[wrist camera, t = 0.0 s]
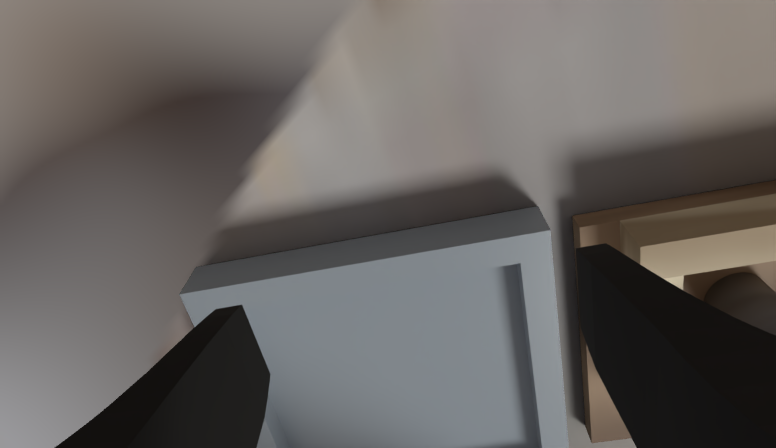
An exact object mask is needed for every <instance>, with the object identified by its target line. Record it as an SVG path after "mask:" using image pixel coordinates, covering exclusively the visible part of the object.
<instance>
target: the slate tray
mask: <svg viewBox="0 0 776 448" xmlns="http://www.w3.org/2000/svg"><path fill="white" fill-rule="evenodd" d="M179 295H180V297H181V299H182V301H183V304H184V306H185V308H186V310H187V312H188V314H189V316H190V319H191V321H192V323H193V325H194V327H196V326H197V325H198V324H199V323H200V322H201V321H202V320H203V319H204V318H206V317H207V316H208V315H209V314H210V313H212V312H213V311H214V310H215V309H219V308H225V307H231V306H237V305H242V306H243V308H244V311H245V313H246V315H247V318H248V320H249V323H250V325H251V328H252V330H253V333H254V335H255V338H256V340H257V342H258V345H259V347H260V350H261V352H262V355H263V357H264V360H265V362H266V364H267V367H268V369H269V372H270V374H271V375H270V383H269V392H268V399H267V406H266V412H265V418H264V422H263V426H262V429H261V433H260V437H259V440H258V444H257V447H256V448H569V444H568V432H567V420H566V408H565V396H564V385H563V373H562V361H561V349H560V337H559V325H558V314H557V302H556V290H555V278H554V266H553V254H552V243H551V231H550V228H549V226H548V224H547V223H546V221H545V219H544V217H543V215H542V213H541V211H540V209H539V207H538V206H536V207H530V208H525V209H519V210H514V211H508V212H502V213H497V214H491V215H486V216H480V217H474V218H469V219H463V220H458V221H452V222H446V223H441V224H435V225H430V226H424V227H418V228H413V229H407V230H402V231H396V232H390V233H385V234H379V235H374V236H368V237H362V238H357V239H351V240H346V241H340V242H334V243H329V244H323V245H318V246H312V247H306V248H301V249H295V250H290V251H284V252H278V253H273V254H267V255H262V256H256V257H250V258H245V259H239V260H233V261H228V262H222V263H217V264H211V265H205V266H200V267H196V268H195V269H194V271H193V273H192V274H191V276H190V278H189V279H188V281H187V283H186V284H185V286H184V287H183V289H182V291H181V293H180V294H179Z"/></svg>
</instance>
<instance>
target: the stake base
mask: <svg viewBox="0 0 776 448" xmlns="http://www.w3.org/2000/svg"><path fill="white" fill-rule="evenodd" d="M771 194H776V180H773V181H768V182H762V183H756V184H751V185H745V186H739V187H734V188H728V189H722V190H716V191H711V192H705V193H699V194H694V195H688V196H682V197H677V198H671V199H665V200H659V201H654V202H648V203H642V204H637V205H631V206H625V207H620V208H614V209H608V210H602V211H597V212H591V213H585V214H580V215H574V216H572V220H573V236H574V252H575V267H576V283H577V299H578V315H579V331H580V347H581V363H582V379H583V395H584V411H585V427H586V429H587V432H588V434H589V437H590V440H591V442H592V443H597V442H604V441H612V440H620V439H627V438H631V436H630V434H629V432H628V430H627V428H626V426H625V424H624V422H623V420H622V419H621V417H620V415H619V413H618V411H617V409H616V407H615V405H614V403H613V401H612V399H611V398H610V396H609V394H608V392H607V390H606V388H605V386H604V384H603V382H602V380H601V378H600V376H599V374H598V372H597V370H596V368H595V365H594V363H593V360H592V358H591V355H590V352H589V350H588V347H587V344H586V341H585V338H584V336H583V333H582V330H581V327H580V312H579V296H578V280H577V264H576V248H580V247H586V246H592V245H598V244H604V243H607V244H608V245H610V246H612V247H613V248H615V249H617V250H618V251H620V221H621V220H626V219H632V218H638V217H644V216H649V215H655V214H661V213H667V212H673V211H678V210H684V209H690V208H696V207H702V206H707V205H713V204H719V203H725V202H731V201H736V200H742V199H748V198H754V197H759V196H765V195H771ZM683 290H684V291H685V292H687V293H689V294H691V295H693V296H694V297H696V298H698V299H700V300H702V301H704V302H706V303H707V304H709V305H711V306H713V307H715V308H717V309H719V310H721V311H723V312H725V313H727V314H729V315H731V316H733V317H735V318H737V319H739V320H741V321H744V322H746V323H748V324H750V325H752V326H754V327H757V328H759V329H761V330H764V331H766V332H769V333H771V334H773V335H776V261H771V262H765V263H759V264H752V265H746V266H740V267H734V268H727V269H721V270H715V271H709V272H702V273H696V274H690V275H684V279H683Z"/></svg>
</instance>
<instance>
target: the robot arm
mask: <svg viewBox="0 0 776 448" xmlns="http://www.w3.org/2000/svg"><path fill="white" fill-rule="evenodd" d="M576 264H577V280H578V296H579V312H580V327H581V330H582V333H583V336H584V338H585V341H586V344H587V347H588V350H589V352H590V355H591V358H592V360H593V363H594V365H595V368H596V370H597V372H598V374H599V376H600V378H601V380H602V382H603V384H604V386H605V388H606V390H607V392H608V394H609V396H610V398H611V399H612V401H613V403H614V405H615V407H616V409H617V411H618V413H619V415H620V417H621V419H622V420H623V422H624V424H625V426H626V428H627V430H628V432H629V434H630V436H631V438H632V439H633V441H634V443H635V445H636V447H637V448H776V335H773V334H771V333H769V332H766V331H764V330H761V329H759V328H757V327H754V326H752V325H750V324H748V323H746V322H744V321H741V320H739V319H737V318H735V317H733V316H731V315H729V314H727V313H725V312H723V311H721V310H719V309H717V308H715V307H713V306H711V305H709V304H707V303H706V302H704V301H702V300H700V299H698V298H696V297H694V296H693V295H691V294H689V293H687V292H685V291H684V290H682V289H680V288H678V287H677V286H675V285H673V284H671V283H670V282H668V281H666V280H665V279H663V278H661V277H660V276H658V275H656V274H655V273H653V272H652V271H650V270H648V269H647V268H645V267H644V266H642V265H640V264H639V263H637V262H636V261H634V260H632V259H631V258H629V257H628V256H626V255H625V254H623V253H621V252H620V251H618V250H617V249H615V248H613V247H612V246H610V245H608V244H607V243H604V244H598V245H592V246H586V247H580V248H576ZM270 375H271V374H270V372H269V369H268V367H267V364H266V362H265V360H264V357H263V355H262V352H261V350H260V347H259V345H258V342H257V340H256V338H255V335H254V333H253V330H252V328H251V325H250V323H249V320H248V318H247V315H246V313H245V311H244V308H243V306H242V305H237V306H231V307H225V308H219V309H215V310H214V311H213V312H212V313H210V314H209V315H208V316H207V317H206V318H204V319H203V320H202V321H201V322H200V323H199V324H198V325H197V326H196V327H195V328H193V329H192V330H191V331H190V332H189V333H188V334H187V335H186V336H185V337H184V338H183V339H182V340H181V341H180V342H179V343H178V344H177V345H175V346H174V347H173V348H172V349H171V350H170V351H169V352H168V353H167V354H166V355H165V356H164V357H163V358H162V359H161V360H160V361H159V362H157V363H156V364H155V365H154V366H153V367H152V368H151V369H150V370H149V371H148V372H147V373H146V374H145V375H143V376H142V377H141V378H140V379H139V380H138V381H137V382H136V383H134V384H133V385H132V386H131V387H130V388H129V389H127V390H126V391H125V392H124V393H123V394H122V395H121V396H119V397H118V398H117V399H116V400H115V401H114V402H113V403H112V404H110V405H109V406H108V407H107V408H106V409H104V410H103V411H102V412H101V413H100V414H98V415H97V416H96V417H95V418H93V419H92V420H91V421H89V422H88V423H87V424H86V425H84V426H83V427H82V428H80V429H79V430H78V431H76V432H75V433H74V434H73V435H71V436H70V437H68V438H67V439H66V440H65V441H63V442H62V443H61V444H59V445H58V446H56V447H55V448H256V447H257V444H258V440H259V437H260V433H261V429H262V426H263V422H264V418H265V412H266V406H267V399H268V392H269V383H270Z"/></svg>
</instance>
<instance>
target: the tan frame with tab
mask: <svg viewBox="0 0 776 448" xmlns="http://www.w3.org/2000/svg"><path fill="white" fill-rule="evenodd" d="M620 252H621V253H623V254H625V255H626V256H628V257H629V258H631V259H632V260H634V261H636V262H637V263H639V264H640V265H642V266H644V267H645V268H647V269H648V270H650V271H652V272H653V273H655V274H656V275H658V276H660V277H661V278H663V279H665V280H666V281H668V282H670V283H671V284H673V285H675V286H677V287H678V288H680V289H682V290H683V279H684V275H690V274H696V273H702V272H709V271H715V270H721V269H727V268H734V267H740V266H746V265H752V264H759V263H765V262H771V261H776V194H771V195H765V196H759V197H754V198H748V199H742V200H736V201H731V202H725V203H719V204H713V205H707V206H702V207H696V208H690V209H684V210H678V211H673V212H667V213H661V214H655V215H649V216H644V217H638V218H632V219H626V220H621V221H620Z"/></svg>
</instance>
